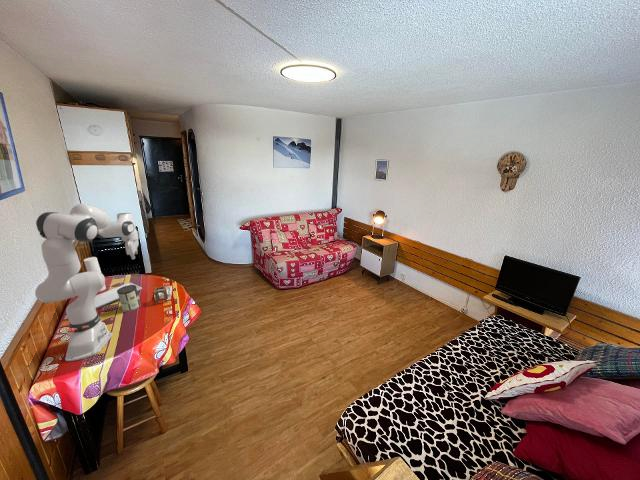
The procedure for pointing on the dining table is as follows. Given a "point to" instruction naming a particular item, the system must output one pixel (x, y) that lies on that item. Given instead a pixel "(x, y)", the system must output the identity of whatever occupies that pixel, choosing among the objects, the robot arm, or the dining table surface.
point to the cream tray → (169, 292)
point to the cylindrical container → (93, 267)
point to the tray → (110, 296)
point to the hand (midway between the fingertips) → (135, 256)
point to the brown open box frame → (160, 292)
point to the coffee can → (129, 297)
